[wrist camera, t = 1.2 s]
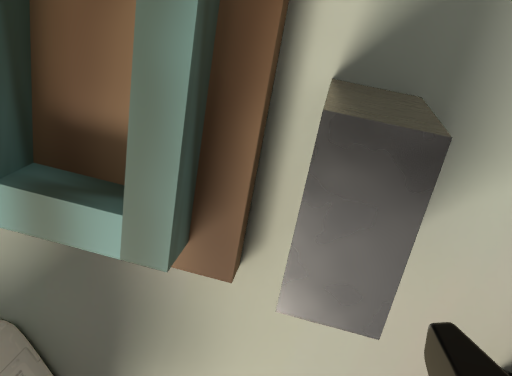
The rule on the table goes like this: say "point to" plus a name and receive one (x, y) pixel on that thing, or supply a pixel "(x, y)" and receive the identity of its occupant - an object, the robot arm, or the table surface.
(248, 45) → the well board
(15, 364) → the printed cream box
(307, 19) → the table surface
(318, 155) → the silver metal block
